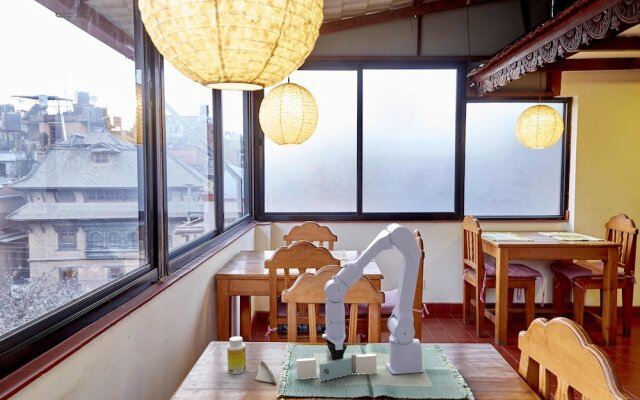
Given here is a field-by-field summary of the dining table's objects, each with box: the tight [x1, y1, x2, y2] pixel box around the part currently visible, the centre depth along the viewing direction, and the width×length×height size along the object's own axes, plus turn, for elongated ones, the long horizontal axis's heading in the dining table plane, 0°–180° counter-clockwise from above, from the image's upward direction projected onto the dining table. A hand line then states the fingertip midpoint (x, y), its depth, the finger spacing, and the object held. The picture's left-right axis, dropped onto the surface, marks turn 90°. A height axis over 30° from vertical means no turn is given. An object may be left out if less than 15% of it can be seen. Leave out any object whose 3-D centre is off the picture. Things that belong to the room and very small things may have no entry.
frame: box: [296, 353, 378, 380], centre depth 139 cm, size 24×2×6 cm, turn 97°
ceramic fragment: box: [254, 360, 277, 386], centre depth 140 cm, size 14×5×4 cm, turn 22°
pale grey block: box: [326, 349, 345, 362], centre depth 142 cm, size 4×4×6 cm
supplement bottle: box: [226, 335, 247, 375], centre depth 144 cm, size 6×6×10 cm
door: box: [318, 356, 352, 382], centre depth 137 cm, size 10×2×5 cm, turn 115°
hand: (336, 364), depth 142 cm, fingers closed on pale grey block, 4 cm apart
